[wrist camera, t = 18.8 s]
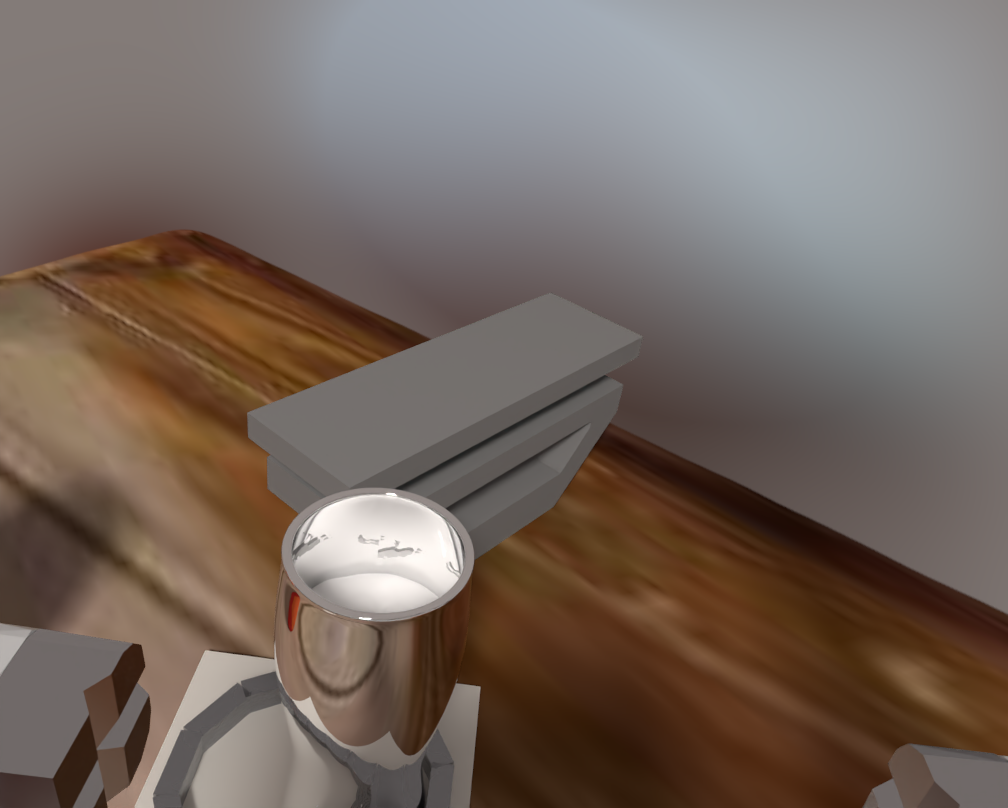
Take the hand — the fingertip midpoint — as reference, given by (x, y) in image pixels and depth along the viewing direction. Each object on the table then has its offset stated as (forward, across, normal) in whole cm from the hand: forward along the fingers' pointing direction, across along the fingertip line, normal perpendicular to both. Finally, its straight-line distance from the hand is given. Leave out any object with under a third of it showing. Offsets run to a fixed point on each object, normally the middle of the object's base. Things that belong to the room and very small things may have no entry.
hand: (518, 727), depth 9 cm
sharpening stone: (+37, +2, +28) cm, 47 cm away
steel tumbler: (+16, +4, +28) cm, 32 cm away
